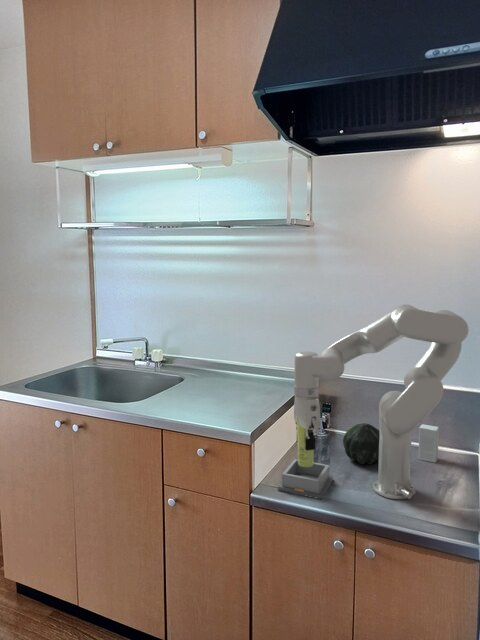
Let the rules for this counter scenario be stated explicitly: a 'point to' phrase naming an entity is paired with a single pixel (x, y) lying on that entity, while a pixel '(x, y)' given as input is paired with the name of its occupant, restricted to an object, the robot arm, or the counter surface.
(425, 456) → the skincare box
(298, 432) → the tube
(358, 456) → the squash
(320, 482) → the socket
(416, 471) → the counter surface
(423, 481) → the counter surface
